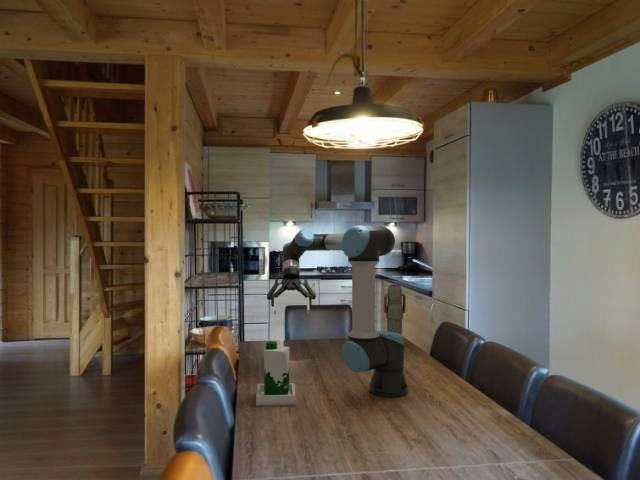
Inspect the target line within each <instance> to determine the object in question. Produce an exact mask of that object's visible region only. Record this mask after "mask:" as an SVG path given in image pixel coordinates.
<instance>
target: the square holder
mask: <svg viewBox="0 0 640 480" xmlns="http://www.w3.org/2000/svg"><path fill="white" fill-rule="evenodd" d="M295 388H296V387H295V382H293V383H291V382H289V391H288V395H265V394H264V383H257V388H256V392H255V393H256V394H255V407H279V406H280V407H281V406H282V407H284V406H288V407H289V406H296V389H295Z"/></svg>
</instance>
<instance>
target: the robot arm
mask: <svg viewBox="0 0 640 480" xmlns="http://www.w3.org/2000/svg"><path fill="white" fill-rule="evenodd" d="M395 245H396V238H395V235H394V232H393V231H392V230H390V229H389V228H388V227H386V226H383V225H365V224H364V225H362V224H361V225H354V226H353V225H352V226H351V227H349V228H347V229H346V231H345V232H344V233H342V232H341V233H313V232H312V231H311V230H310V229H307V228H302V229H300V230H299V231H298V232H297V233H296V234H295V235H294V237H293V239H292V240H291V241H290V242H287V243H284V244H283V247H282V252H281V253H282V280H279V279H278V278H276V279H275V281H274V284H273V285H272V287H271V288H270V290H269V291H268V293H267V294H266V299H267V300H268V301H269V300H270V304H271V305H270V306H271V307H272V308H273V314H274V315H276V314H277V298H278V297H280V295H282V294H283V293H284V292H286V291H297V292H298V293H300V294H301V295H302V296H303V297H304V298H305V299H306V314H307V315H309V314H310V307H312V305H313V304H312V303H313V301H312V300H316V298H317V297H316V293H315V291H314V290H313V289H312V287H311V286H310V284H309V283H308V279H306V278H304V280H301V276H300V274H301V273H300V272H301V271H300V258H301V257H302V256H303V255H304V254H305V252H310V251H313V252H315V251H323V252H324V251H330V252H331V251H341V252H342V251H343V254H344V255H345V256H346V257H347V262H348V264H350V266H351V269H352V270H351V283H352V284H351V286H352V289H351V295H352V296H351V297H352V299H351V301H352V302H351V303H352V304H351V307H352V308H351V309H352V310H351V315H352V316H351V317H352V320H351V321H352V322H351V323H352V325H351V327H352V329H351V330H350V332H349V333H348V338H347V340H348V341H346V342H345V343H344V344H343V345H342V348H341V356H342V361H343V362H344V364H345V365H346V367H347V368H348V369H349V370H350V371H351V372H354V373H366V372H368V371H372V370H373V372H372V375H371V377H370V380H369V385H368V388H369V389H368V391H369V392H370V393H371V394H373V395H375V396H379V397H386V398H398V397H399V398H400V397H403V396H407V395H408V393H409V385H408V382H407V378H406V376H405V371H404V368H405V366H404V365H405V342H404V341H405V338H404V336H403V334H402V335H401V334H398V333H394V332H387V330H385V331H384V330H376V266H377V265H378V264H379V263H380V257H382V256H386V255H388V254H390V253H391V252H392V251H393V249H394V248H395ZM279 286H280V287H279ZM278 287H279V288H278ZM303 287H304V288H303Z"/></svg>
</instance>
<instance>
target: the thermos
mask: <svg viewBox="0 0 640 480" xmlns="http://www.w3.org/2000/svg"><path fill="white" fill-rule="evenodd" d="M406 298H407V296H406V294H405V293H403V289H402V286H401V285H399V284H390V285H388V288H387V293H385V294H384V296H383V313H385V317H386V331H387V332H394V333H398V334H401V335H402V336H403V319H404V314H405V313H406V308H407V307H406V305H407V304H406V301H407V300H406Z"/></svg>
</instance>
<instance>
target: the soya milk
mask: <svg viewBox="0 0 640 480" xmlns="http://www.w3.org/2000/svg"><path fill="white" fill-rule="evenodd" d="M263 357H264V359H263V360H264V361H263V362H264V363H263V364H264V365H263V367H264V369H263V371H264V372H263V375H264V376H263V377H264V378H263V384H264V394H265V395H288V391H289V383H290V346H283V345H278V342H277V341H266V344H265V349H263Z"/></svg>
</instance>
